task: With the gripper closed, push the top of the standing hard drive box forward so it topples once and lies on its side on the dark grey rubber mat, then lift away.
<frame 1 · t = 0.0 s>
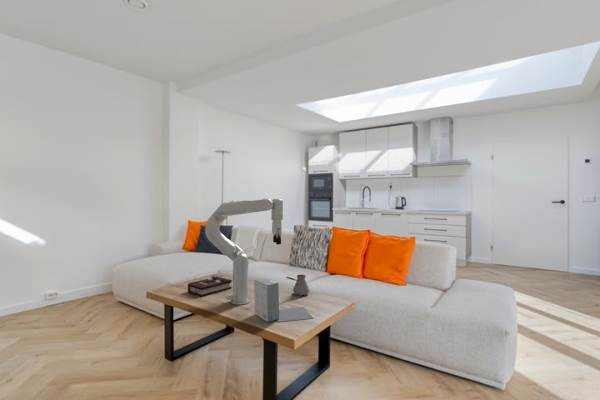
hand: (277, 243, 206), 37 cm above the table, tool pointing down, fingers open, 9 cm apart
coffee pot: (296, 296, 212), on the table
hard drive box: (266, 317, 174), on the table, touching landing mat
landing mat: (291, 314, 178), on the table
decorative book: (210, 291, 223), on the table
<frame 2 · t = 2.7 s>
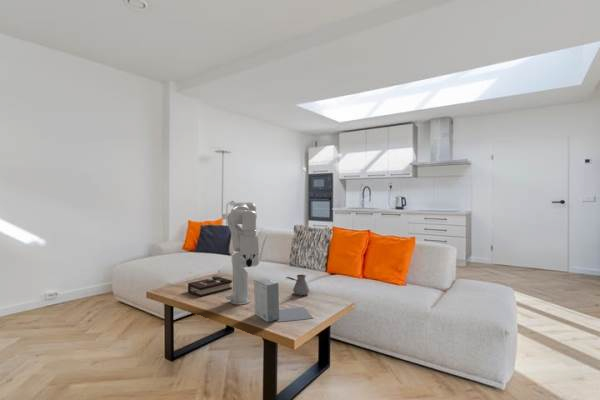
hand: (249, 266, 171), 29 cm above the table, tool pointing down, fingers closed
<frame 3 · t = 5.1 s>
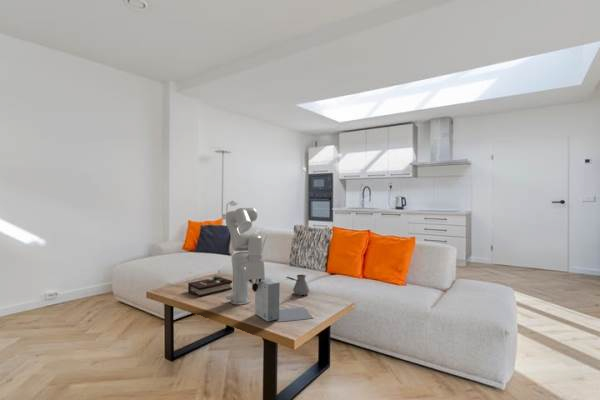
hand: (255, 290, 172), 15 cm above the table, tool pointing down, fingers closed
hard drive box: (266, 316, 174), on the table, touching gripper, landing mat
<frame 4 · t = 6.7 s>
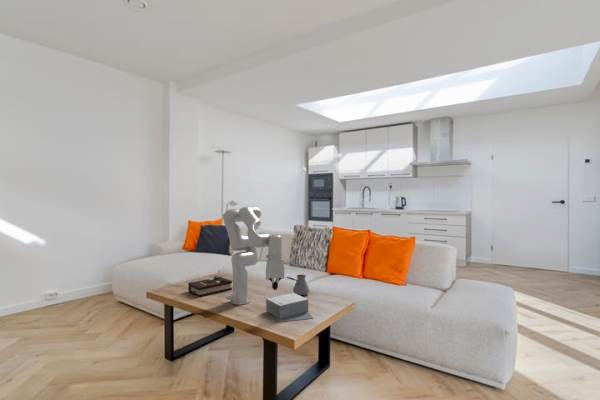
hand: (275, 289, 175), 15 cm above the table, tool pointing down, fingers closed
hard drive box: (272, 308, 176), point 4 cm above the table, touching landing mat
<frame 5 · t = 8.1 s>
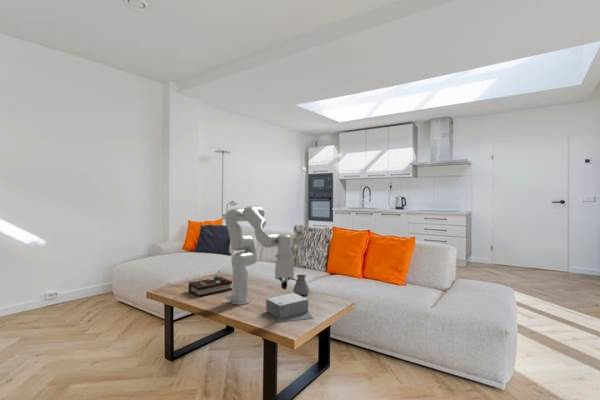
hand: (284, 288, 177), 15 cm above the table, tool pointing down, fingers closed
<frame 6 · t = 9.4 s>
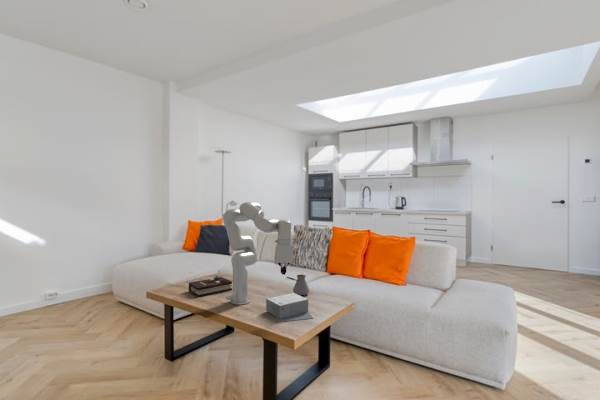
hand: (283, 274, 177), 23 cm above the table, tool pointing down, fingers closed
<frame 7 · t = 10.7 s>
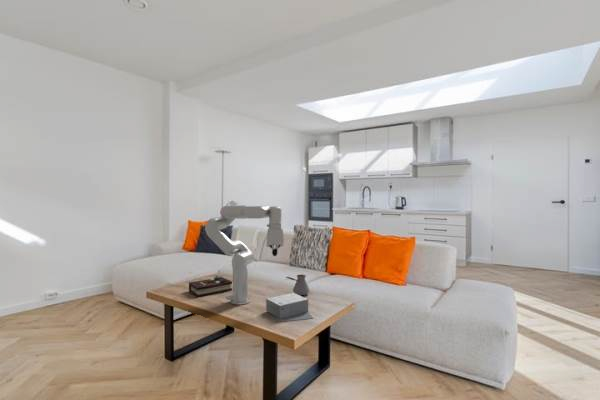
hand: (274, 255, 193), 31 cm above the table, tool pointing down, fingers closed
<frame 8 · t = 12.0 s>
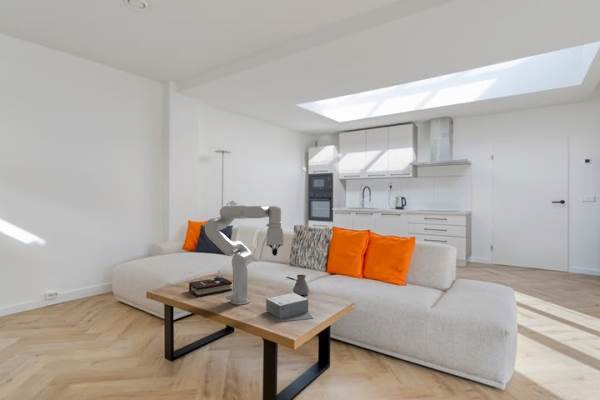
hand: (274, 255, 193), 31 cm above the table, tool pointing down, fingers closed
at the end: hard drive box tilted 90°; hard drive box touching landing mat; hard drive box inside the target area (4.8 cm from its centre), point 4.0 cm above the table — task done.
